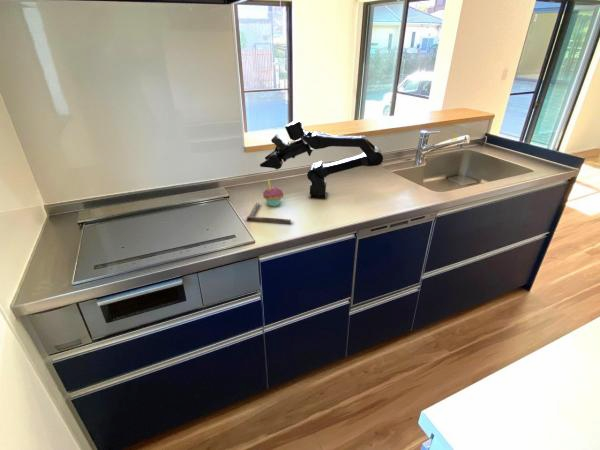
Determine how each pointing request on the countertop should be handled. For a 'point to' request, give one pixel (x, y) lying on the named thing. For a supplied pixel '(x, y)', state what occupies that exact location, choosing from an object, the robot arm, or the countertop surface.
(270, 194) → the cupcake
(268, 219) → the corner guide
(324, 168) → the robot arm
